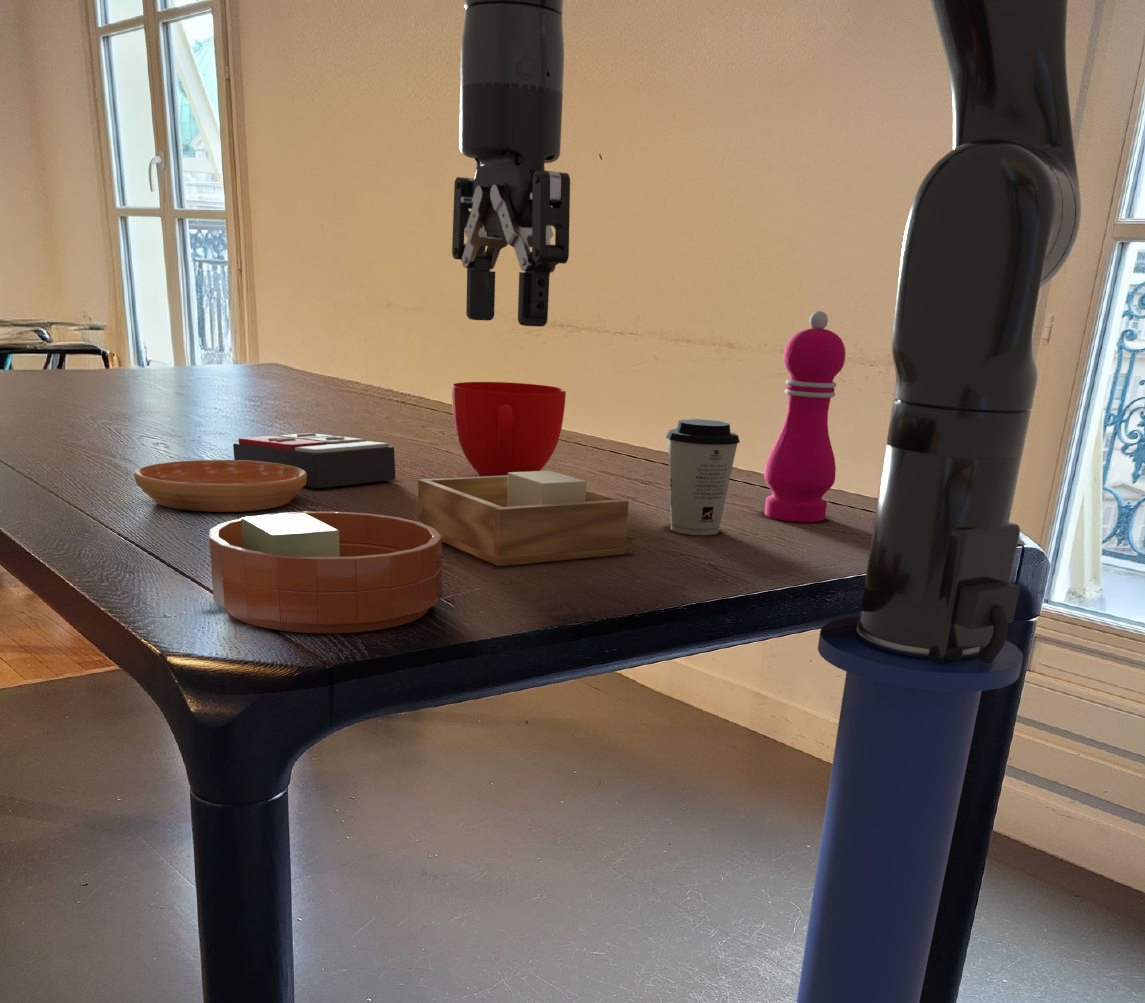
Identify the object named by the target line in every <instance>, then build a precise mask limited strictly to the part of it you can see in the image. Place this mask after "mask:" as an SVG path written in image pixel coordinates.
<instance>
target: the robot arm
mask: <svg viewBox="0 0 1145 1003" xmlns="http://www.w3.org/2000/svg"><path fill="white" fill-rule="evenodd" d="M1068 2H1069V1H1068V0H929V5H930V9H931V12H932V15H933V18H934V22H935V26H936V29H937V32H938V36H939V39H940V43H941V47H942V52H943V54H944V58H945V62H946V66H947V72H948V77H949V84H950V91H951V92H950V93H951V103H952V106H951V107H952V150H950V151H948V152H947V153H946V154H945V155H944V156H942V157H941V158H940V159H938V161H937V162H936V163H935V164H934V165H933V166H932V167H931V169H929V171H928V172H927V173H926V175H925V176H924V178H923V179H922V181H921V183H920V185H919V187H918V188H917V191H916V192H915V195H914V197H913V200H912V202H911V206H910V209H909V213H908V216H907V220H906V225H905V229H904V235H903V242H902V248H901V256H900V261H899V262H900V264H899V271H898V280H897V290H896V297H895V306H894V316H893V325H892V335H891V354H892V355H891V356H892V360H893V361H892V362H893V366H894V371H895V372H894V373H895V383H894V392H893V397H892V398H893V400H892V403H891V410H890V416H889V425H888V430H887V437H886V442H885V443H886V444H885V449H884V455H883V461H882V468H881V474H880V481H879V489H878V495H877V500H876V506H875V514H874V521H873V527H872V534H871V541H870V546H869V554H868V560H867V565H866V566H867V567H866V573H865V580H864V586H863V587H864V588H863V595H862V600H861V610H860V615H859V616H860V621H859V622H858V624H857V631H856V637H857V638H858V639H859V640H860V641H861V642H863V643H864V644H866V645H868V646H870V647H872V648H875V649H877V650H880V651H883V652H887V653H890V654H894V655H899V656H903V657H908V658H915V659H922V660H928V661H931V662H934V663H937V664H948V663H953V662H958V661H963V660H968V659H974V658H980V659H981V660H982V661H984V662H985V663H992V661H993V660H994V658H995V657H996V656H997V655H998V653H999V652H1000V651H1001V649H1002V648H1003V646H1004V644H1005V641H1007V638H1008V633H1009V632H1008V631H1009V627H1008V626H1009V625H1008V624H1011V623H1013V622H1014V618H1015V612H1016V608H1017V604H1018V599H1019V594H1020V589H1021V586H1020V585H1018V584H1014V583H1011V578H1012V574H1013V567H1014V564H1015V559H1016V555H1017V554H1016V553H1017V549H1018V545H1019V538H1020V533H1021V528H1020V526H1019V525H1018V524H1017V523H1014V522H1010V520H1011V513H1012V508H1013V503H1014V499H1015V494H1016V488H1017V483H1018V477H1019V473H1020V467H1021V464H1022V457H1023V453H1024V447H1025V443H1026V438H1027V433H1028V427H1029V423H1030V417H1031V414H1032V410H1031V409H1033V404H1034V399H1035V395H1036V390H1037V384H1038V376H1039V375H1038V369H1037V368H1038V367H1037V365H1036V362H1035V358H1034V352H1033V350H1034V349H1033V335H1034V334H1033V332H1034V325H1035V319H1036V314H1037V313H1036V312H1037V306H1038V301H1039V294H1040V290H1041V288H1043V287H1044V286H1045V285H1047V284H1048V283H1049V282H1050V281H1051V280H1052V279H1054V277H1055V276H1056V275H1057V274H1058V273H1059V272H1060V270H1061V269H1062V267H1063V266H1064V265H1065V263H1066V262H1067V260H1068V259H1069V257H1070V254H1071V252H1072V250H1073V248H1074V245H1075V242H1076V240H1077V238H1078V235H1079V234H1078V233H1079V230H1080V225H1081V216H1082V200H1081V190H1080V181H1079V175H1078V174H1079V173H1078V167H1077V158H1076V150H1075V142H1074V141H1075V140H1074V133H1073V124H1072V115H1071V106H1070V97H1069V96H1070V95H1069V86H1068V72H1067V49H1066V48H1067V22H1068V21H1067V20H1068ZM464 8H465V10H464V19H463V27H462V36H461V45H460V90H459V91H460V94H459V96H460V97H459V99H460V100H459V150H460V152H461V154H462V155H463V156H465V157H467V158H470V159H474V161H475V162H476V169H475V174H474V175H475V176H474V177H459V176H457V177H456V178H455V180H454V183H453V184H454V186H453V192H454V193H453V210H452V212H453V215H452V241H451V242H452V243H451V255H452V258H453V259H454V260H460V261H461V265H462V267H463V268H464V269H466V307H465V308H466V309H465V310H466V317H467V318H468V319H469V320H471V321H489V322H490V321H492V320H493V319H494V317H495V306H496V305H495V303H496V302H495V301H496V271H492V270H494V268H495V266H496V263H497V261H498V258H499V256H500V252H501V250H502V249H503V248H506V247H507V246H508V245H509V246H510V247H512V248H513V249H514V251H515V252H514V253H515V255H516V258H517V261H518V264H519V267H520V270H521V271H519V272H518V275H519V276H518V295H517V296H518V299H517V300H518V301H517V322H518V324H519V325H520V326H523V327H544V326H546V325H547V323H548V318H549V317H548V316H549V315H548V313H549V297H550V295H549V294H550V275H551V273H554V271H555V269H556V266H557V265H559V264H562V265H563V264H567V263H568V261H569V257H570V218H571V217H570V210H571V209H570V208H571V177H570V174H569V173H568V172H562V171H554V170H553V171H551V170H546V169H545V168H546V167H545V164H550V163H554V162H556V161H557V160H558V159H559V158H560V157H561V156H560V155H561V146H562V145H561V144H562V119H563V100H564V97H563V96H564V74H565V72H564V71H565V42H564V29H563V27H564V26H563V24H564V23H563V20H564V19H563V14H564V0H464ZM552 227H553V228H554V232H555V234H554V232H553V230H552ZM465 236H466V238H467V240H466V243H465ZM553 236H554V244H551V239H552V238H553Z"/></svg>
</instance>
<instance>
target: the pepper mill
mask: <svg viewBox="0 0 1145 1003" xmlns="http://www.w3.org/2000/svg"><path fill="white" fill-rule="evenodd" d="M828 322H829V318H828V315H827V314H826V313H825V312H824V311H821V310H818V311H815V312H813V313H812V314H811V315H810V317H809V325H810V327H809V328H805V329H801V330H800V331H799V330H798V331H797V332H795V333H794V334H793V335H792V336H791V337H790V338H789V339H788V341H787V343H786V345H785V348H784V351H783V365H784V368H785V370H786V371H787V373H788V374H789V378H788V379H786V380H785V384H786V386H785V390H784V394H786V395H787V408H786V414H785V419H784V422H783V425H782V428H781V431H780V432H779V434H778V436H777V438H776V440H775V442H774V444H773V447H772V448H771V450H770V451H769V454H768V457H767V459H766V462H765V468H764V472H763V473H764V474H763V475H764V476H763V477H764V481H765V483H766V485H767V486H768V487H769V489H770V491H771V493H772V494H771V495H768V496H767V497H766V498H765V506H764V515H765V516H766V517H768V518H770V519H774V520H778V521H784V522H785V521H786V522H792V523H818V522H822V521H824V520H825V519H826V515H827V514H826V513H827V507H828V502H827V501H826V500H825V499H823V497H824V495H826V493H827V492H828V491H829V490H831V488H832V487H833V486H834V484H835V482H836V472H837V470H836V469H837V467H836V458H835V454H834V451H833V446H832V443H831V439H830V432H829V424H828V423H829V422H828V420H829V409H830V404H831V399H832V398H834V397H835V396H836V393H835V389H836V387H837V383H836V382H835V381H834V379H835V377H836V376H838V374H839V373H840V372H841V371H842V370H843V368H844V365H845V362H846V346H845V344H844V341H843V339H842V338H841V337H840V336H839V335H838V334H836V332H833V331H832V330H829V329H826V327H827V326H828Z"/></svg>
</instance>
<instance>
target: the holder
mask: <svg viewBox="0 0 1145 1003" xmlns="http://www.w3.org/2000/svg"><path fill="white" fill-rule="evenodd" d="M417 504H418V505H417V522H420V523H423V524H425V525H427V526H430V527H432V528H434V529H436V530H437V531H438V533H439V534H440V535H441V537H442V543H444V544H447V545H449V546H451V547H453V548H456V549H458V550H460V551H463V552H465V553H467V554H469V555H472V556H474V557H475V558H478V559H481V560H483V561H485V562H487V563H489V564H491V565H494V566H496V567H506V566H508V567H509V566H519V565H528V564H529V565H531V564H539V563H550V562H558V561H559V562H560V561H570V560H580V559H581V560H582V559H591V558H601V557H611V556H612V557H613V556H623V555H625V554H626V546H627V531H628V520H629V519H628V516H629V500H627V499H623V498H620V497H617V496H614V495H610V494H607V493H604V492H600V491H598V490H594V489H591V488H587V487H586V502H574V503H559V504H543V505H528V506H513V507H507V475H501V476H481V477H479V476H463V477H444V478H421V479H417Z"/></svg>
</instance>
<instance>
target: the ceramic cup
mask: <svg viewBox="0 0 1145 1003" xmlns="http://www.w3.org/2000/svg"><path fill="white" fill-rule="evenodd" d="M566 394H567V392H566V390H565V389H564V388H561V387H558V386H557V387H556V386H551V385H545V384H544V385H543V384H533V383H523V382H507V381H505V382H504V381H464V382H457V383H453V384H452V385H451V403H452V404H451V406H452V416H453V417H452V418H453V426H454V430H455V435H456V438H457V439H456V440H457V442H458V445H459V447H460V450H461V452H462V454H463V455H464V457H465V459H466V460H467V462H468V463H469V465H470V466H471V467H472V469H473V470H474V471H475V472H476V473H477V477H481V476H501V475H508V472H529V471H542V469H543V468H544V467H545V466H546V464H547V463H548V462H549V461H550V459H551V457H552V455H553V454H554V452H555V451H556V448H557V445H558V442H559V440H560V436H561V434H562V433H561V432H562V427H563V422H564V415H565V407H566V396H567V395H566Z"/></svg>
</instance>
